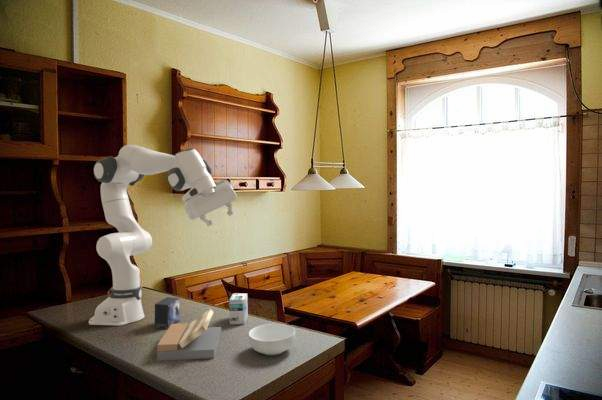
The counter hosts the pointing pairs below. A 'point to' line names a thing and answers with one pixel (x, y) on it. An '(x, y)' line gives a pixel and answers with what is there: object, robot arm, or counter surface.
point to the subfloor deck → (195, 349)
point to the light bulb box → (238, 308)
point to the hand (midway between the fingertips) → (220, 220)
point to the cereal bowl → (272, 338)
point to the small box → (167, 312)
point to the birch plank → (196, 328)
